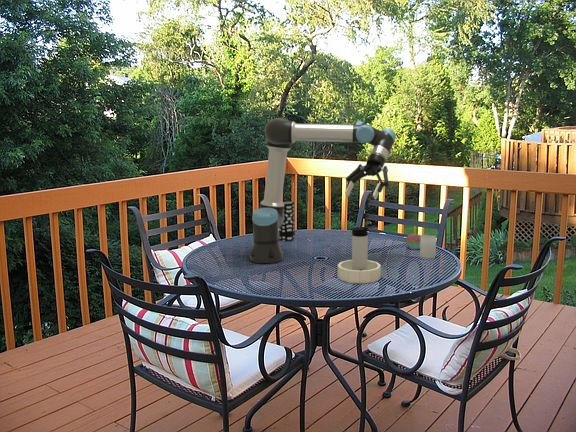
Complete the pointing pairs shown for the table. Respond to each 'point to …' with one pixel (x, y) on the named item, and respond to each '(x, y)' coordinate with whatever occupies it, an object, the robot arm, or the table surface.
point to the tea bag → (428, 246)
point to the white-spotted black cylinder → (287, 223)
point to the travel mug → (359, 248)
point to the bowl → (359, 272)
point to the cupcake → (414, 240)
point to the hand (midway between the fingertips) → (360, 196)
